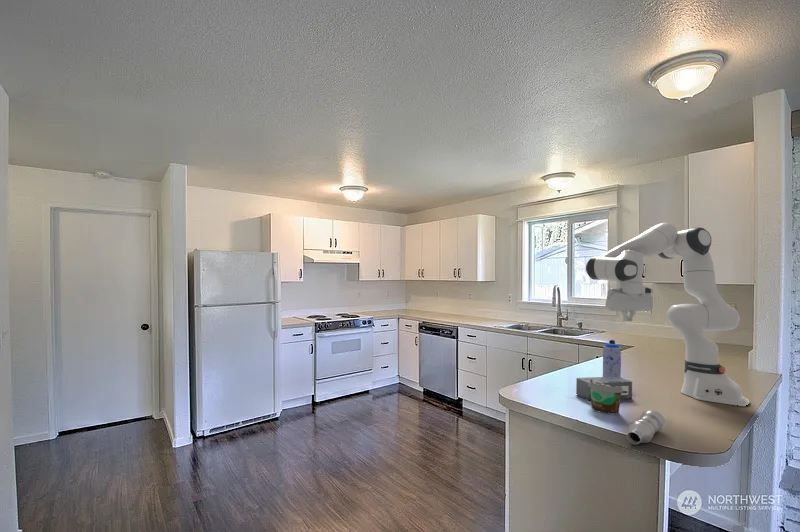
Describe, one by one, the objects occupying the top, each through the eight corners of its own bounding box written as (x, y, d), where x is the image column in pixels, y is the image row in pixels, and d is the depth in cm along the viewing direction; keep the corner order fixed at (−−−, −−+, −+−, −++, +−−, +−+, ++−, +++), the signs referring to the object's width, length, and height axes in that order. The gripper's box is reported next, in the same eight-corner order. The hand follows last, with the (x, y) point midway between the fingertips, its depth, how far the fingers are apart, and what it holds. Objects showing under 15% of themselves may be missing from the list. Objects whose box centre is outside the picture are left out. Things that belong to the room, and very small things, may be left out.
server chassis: (617, 392, 168) (617, 376, 168) (632, 399, 160) (633, 381, 160) (576, 394, 164) (576, 377, 164) (590, 401, 156) (590, 383, 156)
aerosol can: (622, 386, 179) (623, 342, 179) (603, 383, 182) (603, 340, 182) (619, 381, 186) (620, 339, 187) (601, 379, 189) (601, 338, 189)
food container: (581, 407, 149) (581, 380, 149) (590, 404, 152) (590, 378, 152) (614, 417, 139) (614, 389, 139) (622, 414, 142) (623, 386, 142)
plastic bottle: (640, 409, 132) (617, 427, 119) (662, 407, 127) (641, 426, 114) (648, 428, 131) (625, 449, 118) (670, 428, 126) (649, 449, 113)
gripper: (613, 289, 160) (611, 322, 160) (656, 289, 163) (654, 322, 164) (602, 287, 166) (601, 319, 166) (644, 288, 170) (642, 319, 170)
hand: (627, 321), depth 165 cm, fingers closed
